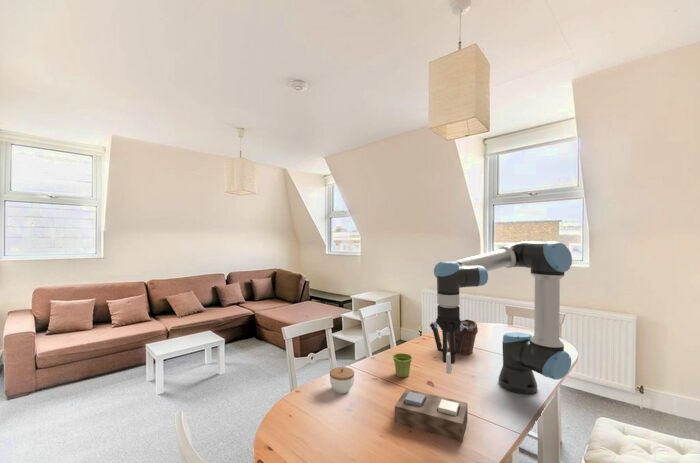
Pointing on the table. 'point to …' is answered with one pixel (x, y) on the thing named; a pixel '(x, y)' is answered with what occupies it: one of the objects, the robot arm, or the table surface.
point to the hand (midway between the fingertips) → (449, 372)
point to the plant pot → (402, 364)
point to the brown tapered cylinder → (465, 337)
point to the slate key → (415, 399)
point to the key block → (432, 416)
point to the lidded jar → (341, 379)
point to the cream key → (448, 407)
